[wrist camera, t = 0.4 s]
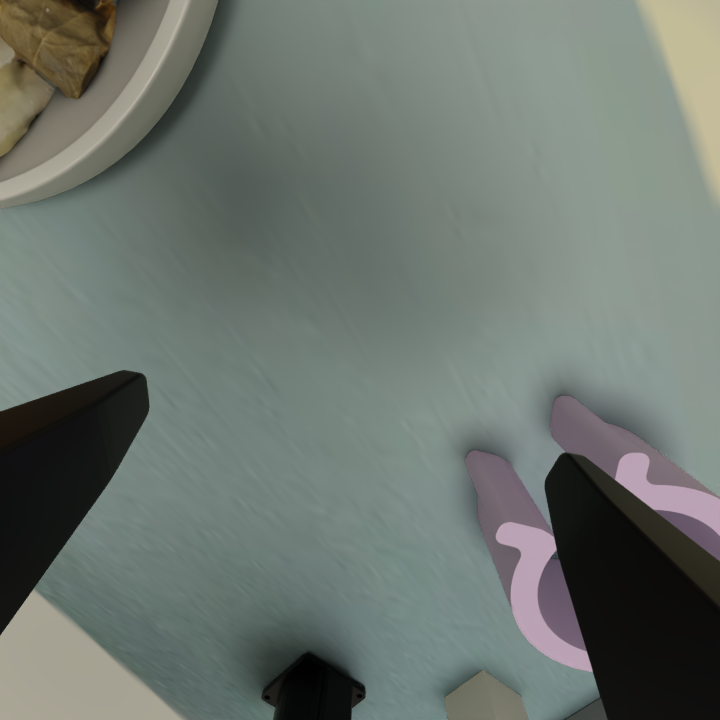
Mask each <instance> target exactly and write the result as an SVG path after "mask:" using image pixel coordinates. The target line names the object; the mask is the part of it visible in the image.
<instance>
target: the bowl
mask: <svg viewBox="0 0 720 720" xmlns="http://www.w3.org/2000/svg"><path fill="white" fill-rule="evenodd" d="M217 4H218V0H0V209H3V208H9V207H14V206H19V205H24V204H28V203H32V202H36V201H39V200H43V199H46V198H49V197H52V196H54V195H57V194H60V193H62V192H65V191H67V190H70V189H72V188H74V187H76V186H78V185H80V184H82V183H84V182H86V181H88V180H90V179H91V178H93V177H95V176H96V175H98V174H100V173H101V172H103V171H104V170H106V169H107V168H109V167H110V166H111V165H113V164H114V163H116V162H117V161H118V160H119V159H121V158H122V157H123V156H124V155H125V154H127V153H128V152H129V151H130V150H131V149H133V148H134V147H135V146H136V145H137V144H138V143H139V142H140V141H141V140H142V139H143V138H144V137H145V136H146V135H147V134H148V133H149V131H150V130H151V129H152V128H153V127H154V126H155V125H156V123H157V122H158V121H159V120H160V119H161V117H162V116H163V115H164V113H165V112H166V111H167V109H168V108H169V107H170V105H171V104H172V102H173V101H174V99H175V97H176V96H177V94H178V93H179V91H180V90H181V88H182V86H183V85H184V83H185V81H186V79H187V77H188V76H189V74H190V72H191V70H192V68H193V66H194V64H195V62H196V60H197V57H198V55H199V53H200V51H201V49H202V46H203V44H204V41H205V39H206V36H207V33H208V31H209V28H210V25H211V22H212V19H213V16H214V13H215V10H216V7H217Z"/></svg>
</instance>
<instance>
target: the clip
mask: <svg viewBox="0 0 720 720" xmlns="http://www.w3.org/2000/svg"><path fill="white" fill-rule="evenodd" d="M550 428H551V432H552V436H553V439H554V440H555V441H556V442H557V443H558V444H559V445H560V447H561V448H562V449H563V450H564V451H565V452H568V453H574V454H579V455H583V456H585V457H586V458H588V459H589V460H590V461H592V462H593V463H594V464H595V465H597V466H598V467H599V468H601V469H602V470H603V471H604V472H606V473H607V474H608V475H610V476H611V477H612V478H613V479H615V480H616V481H617V482H619V483H620V484H621V485H622V486H624V487H625V488H626V489H628V490H629V491H630V492H631V493H633V494H634V495H635V496H637V497H638V498H639V499H640V500H642V501H643V502H644V503H646V504H647V505H648V506H649V507H651V508H652V509H653V510H655V511H656V512H657V513H658V514H660V515H661V516H662V517H664V518H665V519H666V520H667V521H669V522H670V523H671V524H673V525H674V526H675V527H676V528H678V529H679V530H680V531H682V532H683V533H684V534H685V535H687V536H688V537H689V538H691V539H692V540H693V541H694V542H696V543H697V544H698V545H700V546H701V547H702V548H704V549H705V550H706V551H707V552H709V553H710V554H711V555H713V556H714V557H715V558H716V559H718V560H719V561H720V497H719V496H717V495H716V494H714V493H713V492H712V491H710V490H709V489H708V488H706V487H705V486H704V485H702V484H701V483H700V482H698V481H697V480H696V479H694V478H693V477H692V476H690V475H689V474H687V473H686V472H685V471H683V470H682V469H681V468H679V467H678V466H677V465H675V464H674V463H673V462H671V461H670V460H669V459H667V458H666V457H665V456H663V455H662V454H661V453H659V452H658V451H656V450H655V449H654V448H652V447H651V446H650V445H648V444H647V443H646V442H644V441H643V440H642V439H640V438H639V437H638V436H636V435H635V434H633V433H631V432H629V431H628V430H626V429H623V428H621V427H618V426H615V425H612V424H608V423H605V422H604V421H602V420H601V419H600V418H599V417H597V416H596V415H595V414H594V413H592V412H591V411H590V410H588V409H587V408H586V407H585V406H583V405H582V404H581V403H580V402H578V401H577V400H576V399H574V398H573V397H571V396H560V397H558V398H556V399H555V401H554V403H553V409H552V415H551V421H550ZM465 464H466V467H467V469H468V472H469V474H470V477H471V479H472V481H473V484H474V486H475V489H476V491H477V494H478V505H477V509H478V519H479V523H480V527H481V529H482V532H483V535H484V537H485V540H486V543H487V546H488V548H489V551H490V554H491V556H492V559H493V562H494V564H495V567H496V570H497V572H498V575H499V578H500V580H501V583H502V586H503V588H504V591H505V594H506V596H507V599H508V602H509V604H510V607H511V610H512V612H513V615H514V618H515V620H516V622H517V625H518V627H519V628H520V630H521V632H522V633H523V634H524V636H525V637H526V638H527V640H528V641H529V642H530V643H531V644H532V645H533V646H534V647H536V648H537V649H538V650H539V651H540V652H542V653H543V654H545V655H546V656H548V657H550V658H551V659H553V660H555V661H557V662H559V663H562V664H564V665H567V666H570V667H573V668H576V669H580V670H585V671H590V672H593V671H592V667H591V664H590V661H589V657H588V654H587V651H586V648H585V644H584V641H583V638H582V634H581V631H580V628H579V624H578V621H577V618H576V614H575V611H574V608H573V605H572V601H571V598H570V595H569V591H568V588H567V585H566V581H565V578H564V575H563V572H562V568H561V565H560V561H559V559H550V558H551V556H552V555H553V554H554V552H555V551H556V550H557V549H556V544H555V539H554V534H553V532H552V530H551V529H550V527H549V525H548V524H547V522H546V520H545V519H544V517H543V516H542V514H541V512H540V511H539V509H538V507H537V506H536V504H535V503H534V501H533V499H532V498H531V496H530V494H529V493H528V491H527V490H526V488H525V486H524V485H523V483H522V481H521V480H520V478H519V476H518V475H517V473H516V472H515V470H514V468H513V467H512V465H511V464H510V463H509V462H507V461H506V460H504V459H503V458H501V457H500V456H496V455H492V454H488V453H484V452H481V451H471V452H469V453H468V455H467V457H466V459H465Z"/></svg>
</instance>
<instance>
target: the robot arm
mask: <svg viewBox="0 0 720 720" xmlns="http://www.w3.org/2000/svg"><path fill="white" fill-rule="evenodd" d="M148 412H149V396H148V388H147V380H146V377H145V376H144V375H143V374H142V373H138V372H133V371H127V370H122V371H118V372H115V373H112V374H109V375H106V376H104V377H101V378H98V379H95V380H92V381H89V382H86V383H83V384H80V385H77V386H74V387H71V388H68V389H65V390H62V391H59V392H56V393H53V394H51V395H48V396H45V397H42V398H39V399H36V400H33V401H30V402H27V403H24V404H21V405H18V406H15V407H12V408H9V409H6V410H3V411H0V635H1V634H2V632H3V631H4V629H5V628H6V626H7V625H8V624H9V622H10V621H11V619H12V618H13V617H14V615H15V614H16V612H17V611H18V610H19V608H20V607H21V606H22V604H23V603H24V601H25V600H26V598H27V597H28V596H29V594H30V593H31V591H32V590H33V589H34V587H35V586H36V584H37V583H38V582H39V580H40V579H41V577H42V576H43V575H44V573H45V572H46V570H47V569H48V568H49V566H50V565H51V563H52V562H53V561H54V559H55V558H56V556H57V555H58V554H59V552H60V551H61V549H62V548H63V547H64V545H65V544H66V542H67V541H68V540H69V538H70V537H71V535H72V534H73V532H74V531H75V530H76V528H77V527H78V525H79V524H80V523H81V521H82V520H83V518H84V517H85V516H86V514H87V513H88V511H89V510H90V509H91V507H92V506H93V504H94V503H95V502H96V500H97V499H98V497H99V496H100V495H101V493H102V492H103V490H104V489H105V487H106V486H107V484H108V483H109V482H110V480H111V479H112V477H113V475H114V474H115V472H116V470H117V469H118V467H119V465H120V463H121V462H122V460H123V458H124V456H125V454H126V453H127V451H128V449H129V447H130V445H131V444H132V442H133V440H134V438H135V437H136V435H137V433H138V431H139V429H140V428H141V426H142V424H143V422H144V420H145V419H146V417H147V415H148ZM545 493H546V498H547V503H548V508H549V513H550V519H551V524H552V529H553V534H554V539H555V544H556V549H557V553H558V557H559V561H560V565H561V568H562V572H563V575H564V578H565V581H566V585H567V588H568V591H569V595H570V598H571V601H572V605H573V608H574V611H575V614H576V618H577V621H578V624H579V628H580V631H581V634H582V638H583V641H584V644H585V648H586V651H587V654H588V657H589V661H590V664H591V667H592V671H593V674H594V677H595V681H596V684H597V687H598V691H599V694H600V697H601V700H602V704H603V707H604V710H605V714H606V717H607V720H720V561H719V560H718V559H716V558H715V557H714V556H713V555H711V554H710V553H709V552H707V551H706V550H705V549H704V548H702V547H701V546H700V545H698V544H697V543H696V542H694V541H693V540H692V539H691V538H689V537H688V536H687V535H685V534H684V533H683V532H682V531H680V530H679V529H678V528H676V527H675V526H674V525H673V524H671V523H670V522H669V521H667V520H666V519H665V518H664V517H662V516H661V515H660V514H658V513H657V512H656V511H655V510H653V509H652V508H651V507H649V506H648V505H647V504H646V503H644V502H643V501H642V500H640V499H639V498H638V497H637V496H635V495H634V494H633V493H631V492H630V491H629V490H628V489H626V488H625V487H624V486H622V485H621V484H620V483H619V482H617V481H616V480H615V479H613V478H612V477H611V476H610V475H608V474H607V473H606V472H604V471H603V470H602V469H601V468H599V467H598V466H597V465H595V464H594V463H593V462H592V461H590V460H589V459H588V458H586V457H585V456H583V455H579V454H574V453H568V452H565V453H562V454H561V455H560V456H559V457H558V459H557V461H556V462H555V464H554V466H553V467H552V469H551V470H550V472H549V474H548V475H547V477H546V480H545ZM365 694H366V690H365V688H363V687H362V686H360V685H359V684H357V683H356V682H354V681H352V680H351V679H349V678H348V677H346V676H345V675H343V674H341V673H340V672H338V671H337V670H335V669H334V668H332V667H330V666H329V665H327V664H326V663H324V662H323V661H321V660H319V659H318V658H316V657H315V656H313V655H311V654H304V655H303V656H302V657H301V658H300V659H298V660H297V661H296V662H295V663H294V664H293V665H291V666H290V667H289V668H288V669H287V670H286V671H284V672H283V673H282V674H281V675H280V676H279V677H278V678H276V679H275V680H274V681H273V682H272V683H271V684H269V685H268V686H267V687H266V688H265V689H264V690H263V692H262V697H261V698H262V699H263V700H264V701H266V702H267V703H269V704H271V705H272V706H274V707H276V708H275V712H274V717H273V720H351V717H352V708H353V707H354V706H355V705H357V704H358V703H359V702H361V701H362V700H363V699H364V698H365Z"/></svg>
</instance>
